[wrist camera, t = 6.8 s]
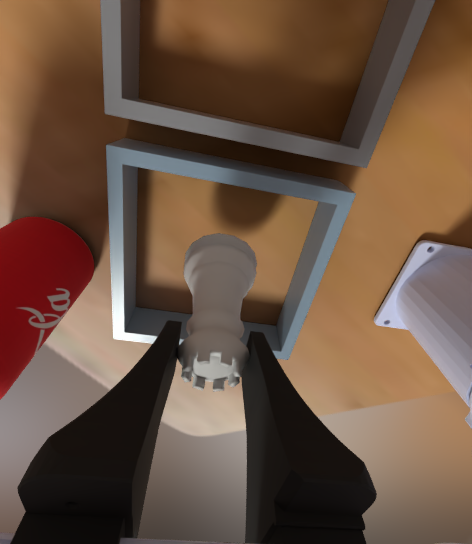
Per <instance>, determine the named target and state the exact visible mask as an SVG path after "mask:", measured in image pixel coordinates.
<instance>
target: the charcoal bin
mask: <svg viewBox="0 0 472 544" xmlns="http://www.w3.org/2000/svg"><path fill="white" fill-rule="evenodd" d="M100 2H101V28H102V54H103V80H104V106H105V114H108V115H113V116H117V117H122V118H127V119H132V120H137V121H142V122H146V123H151V124H156V125H161V126H166V127H171V128H175V129H180V130H185V131H190V132H195V133H199V134H204V135H209V136H214V137H219V138H224V139H228V140H233V141H238V142H243V143H248V144H253V145H257V146H262V147H267V148H272V149H277V150H281V151H286V152H291V153H296V154H301V155H306V156H310V157H315V158H320V159H325V160H330V161H335V162H339V163H344V164H349V165H354V166H359V167H363V168H367V166H368V164H369V161H370V159H371V156H372V154H373V151H374V149H375V146H376V144H377V142H378V139H379V137H380V134H381V132H382V129H383V127H384V124H385V122H386V119H387V117H388V115H389V112H390V110H391V107H392V105H393V102H394V100H395V97H396V95H397V93H398V90H399V88H400V85H401V83H402V80H403V78H404V75H405V73H406V71H407V68H408V66H409V63H410V61H411V58H412V56H413V53H414V51H415V49H416V46H417V44H418V41H419V39H420V36H421V34H422V31H423V29H424V27H425V24H426V22H427V19H428V17H429V14H430V12H431V9H432V7H433V4H434V2H435V0H389V1H388V4H387V7H386V10H385V13H384V16H383V19H382V21H381V24H380V27H379V30H378V33H377V36H376V39H375V42H374V45H373V47H372V50H371V53H370V56H369V59H368V62H367V65H366V68H365V70H364V73H363V76H362V79H361V82H360V85H359V88H358V91H357V94H356V96H355V99H354V102H353V105H352V108H351V111H350V114H349V117H348V119H347V122H346V125H345V128H344V131H343V134H342V137H341V140H340V142H337V141H333V140H328V139H324V138H319V137H314V136H310V135H305V134H300V133H296V132H291V131H287V130H282V129H277V128H273V127H268V126H263V125H259V124H254V123H250V122H245V121H240V120H236V119H231V118H226V117H222V116H217V115H213V114H208V113H203V112H199V111H194V110H189V109H185V108H180V107H176V106H171V105H166V104H162V103H157V102H152V101H148V100H143V99H139V50H140V0H100Z"/></svg>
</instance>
